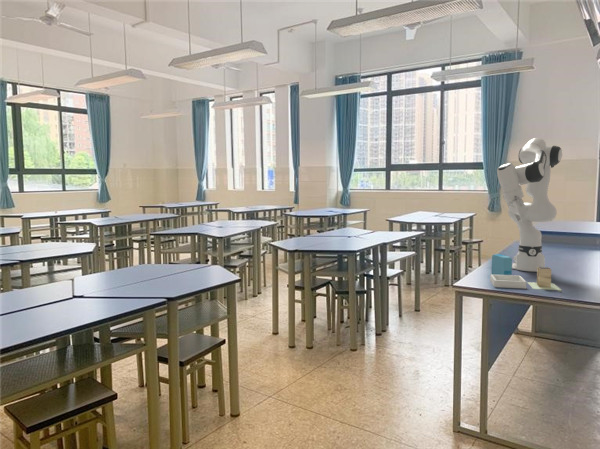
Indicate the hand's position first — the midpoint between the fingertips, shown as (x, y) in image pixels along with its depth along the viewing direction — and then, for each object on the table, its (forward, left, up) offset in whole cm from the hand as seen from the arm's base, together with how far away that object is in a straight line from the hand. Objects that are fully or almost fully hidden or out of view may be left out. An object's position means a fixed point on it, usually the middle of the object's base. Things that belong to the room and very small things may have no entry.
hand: (521, 221), depth 217 cm
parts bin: (+8, -7, -31) cm, 33 cm away
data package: (-11, -7, -32) cm, 34 cm away
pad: (+8, +9, -31) cm, 34 cm away
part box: (+8, +9, -30) cm, 33 cm away
